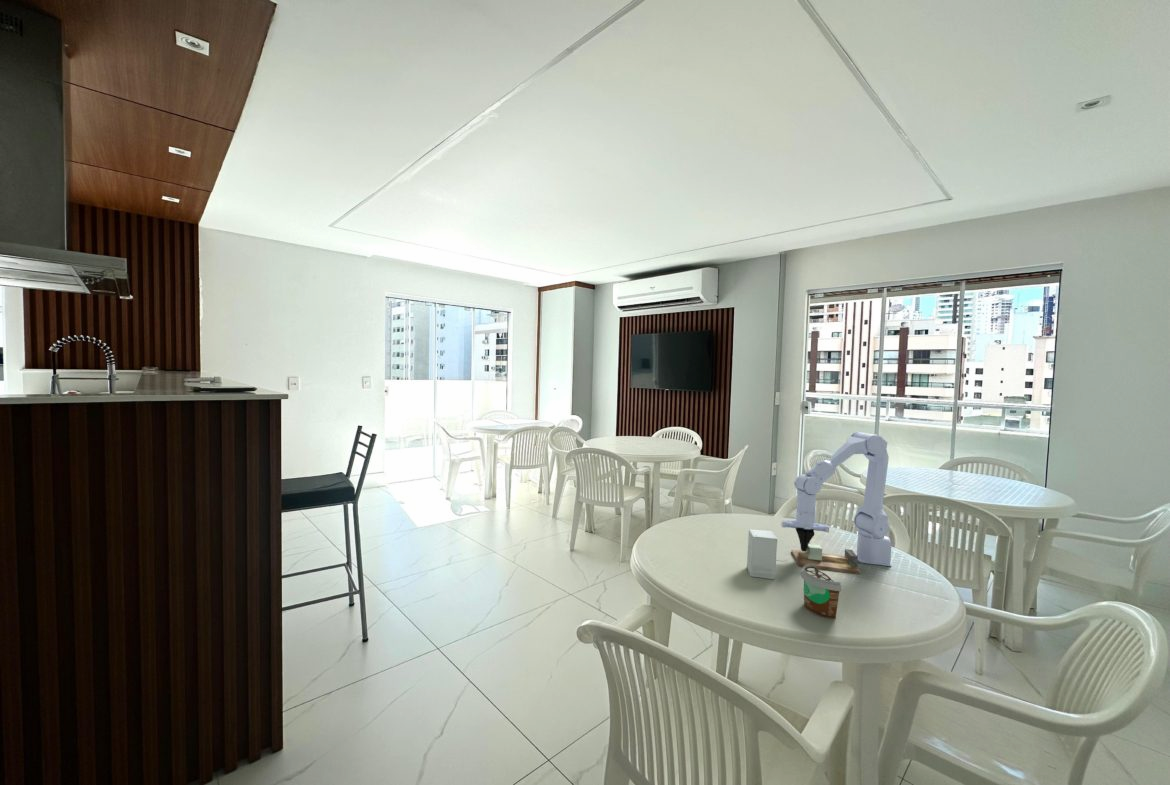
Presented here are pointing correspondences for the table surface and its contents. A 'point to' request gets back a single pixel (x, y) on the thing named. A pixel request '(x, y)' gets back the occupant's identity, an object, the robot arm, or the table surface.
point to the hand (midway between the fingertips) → (803, 550)
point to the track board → (830, 561)
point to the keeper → (814, 551)
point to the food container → (820, 592)
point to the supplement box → (762, 554)
